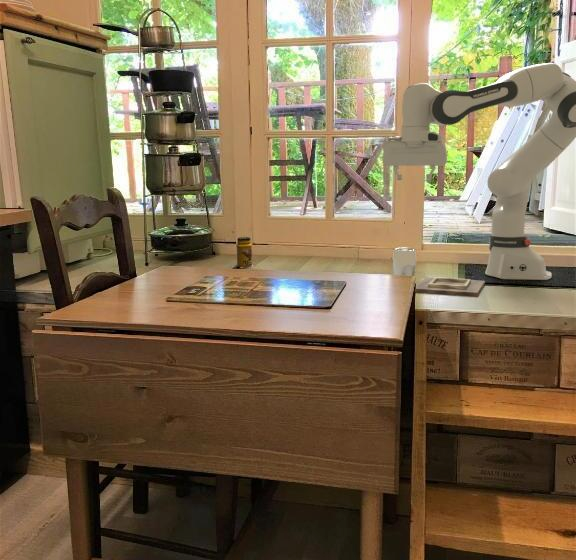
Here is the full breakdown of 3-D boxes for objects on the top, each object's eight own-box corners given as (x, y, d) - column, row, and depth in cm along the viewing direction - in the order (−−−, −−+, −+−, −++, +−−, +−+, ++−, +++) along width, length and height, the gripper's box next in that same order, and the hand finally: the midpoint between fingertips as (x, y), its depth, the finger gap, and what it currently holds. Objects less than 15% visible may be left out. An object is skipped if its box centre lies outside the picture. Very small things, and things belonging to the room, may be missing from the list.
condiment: (252, 268, 248) (251, 238, 246) (230, 268, 249) (229, 238, 247) (254, 265, 256) (253, 236, 253) (233, 265, 256) (232, 236, 254)
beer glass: (400, 300, 188) (401, 251, 185) (388, 296, 194) (388, 248, 191) (419, 298, 191) (420, 249, 188) (406, 293, 197) (407, 246, 194)
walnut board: (484, 284, 209) (485, 277, 209) (477, 296, 191) (477, 289, 191) (425, 280, 217) (425, 274, 217) (412, 292, 199) (412, 285, 199)
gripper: (381, 136, 199) (380, 180, 202) (446, 135, 193) (445, 180, 195) (384, 137, 205) (383, 179, 208) (448, 136, 199) (446, 179, 201)
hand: (414, 180), depth 202 cm, fingers open, 8 cm apart
